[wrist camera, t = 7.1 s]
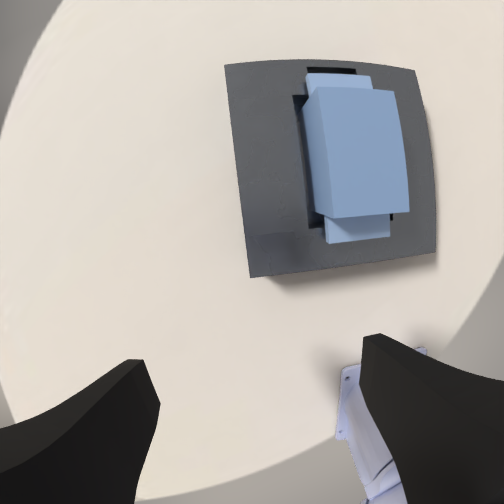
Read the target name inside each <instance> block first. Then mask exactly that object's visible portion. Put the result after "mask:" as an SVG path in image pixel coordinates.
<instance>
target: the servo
mask: <svg viewBox="0 0 504 504" xmlns="http://www.w3.org/2000/svg"><path fill="white" fill-rule="evenodd" d="M305 78H306V83H307V89H308V94H309V99H308V100H307V102H306V103H305V104H304V106H303V107H302V109H301V110H300V112H299V113H298V119H299V125H300V132H301V139H302V147H303V154H304V162H305V171H306V179H307V189H308V198H309V208H310V210H311V211H314V212H317V213H320V214H323V215H324V220H325V233H326V242H327V243H329V244H332V243H340V242H348V241H357V240H365V239H373V238H382V237H390V214H389V213H401V212H409V193H408V180H407V169H406V160H405V152H404V145H403V138H402V131H401V125H400V120H399V114H398V109H397V104H396V99H395V95H394V91H388V90H378V89H373V87H372V82H371V78H370V76H363V75H350V74H328V73H307V75H306V77H305Z"/></svg>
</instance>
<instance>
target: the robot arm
mask: <svg viewBox="0 0 504 504" xmlns="http://www.w3.org/2000/svg"><path fill="white" fill-rule="evenodd" d="M426 353H427V350H426V349H425V348H424V347H421V348H417V349H412V348H410V347H408V346H406V345H404V344H402V343H400V342H398V341H396V340H394V339H392V338H390V337H388V336H386V335H383V334H381V333H379V334H375V335H370V336H366V337H363V348H362V359H361V364H358V365H353V366H349V367H346V368H344V369H343V370H342V372H341V384H340V396H339V407H338V416H337V425H336V433H335V438H336V440H343V439H346V440H347V442H348V446H349V448H350V451H351V454H352V457H353V460H354V463H355V466H356V468H357V471H358V474H359V477H360V480H361V482H362V483H363V485H364V486H365V487H364V488H365V491H366V494H367V498H365V499H364V500H363V501H362V502H361V503H360V504H504V381H501V380H495V379H491V378H486V377H483V376H479V375H475V374H472V373H469V372H465V371H462V370H460V369H457V368H455V367H452V366H449V365H447V364H444V363H442V362H440V361H437V360H435V359H433V358H431V357H429V356H426ZM348 376H349V377H348ZM346 377H348V378H346ZM160 404H161V403H160V401H159V399H158V396H157V394H156V391H155V389H154V386H153V384H152V381H151V379H150V376H149V373H148V371H147V368H146V365H145V363H144V360H138V359H128V360H126V361H124V362H122V363H121V364H119V365H118V366H116V367H115V368H113V369H112V370H110V371H109V372H107V373H106V374H105V375H103V376H102V377H100V378H99V379H97V380H96V381H95V382H93V383H92V384H90V385H89V386H87V387H86V388H85V389H83V390H82V391H80V392H78V393H77V394H75V395H74V396H72V397H70V398H69V399H67V400H66V401H64V402H62V403H61V404H59V405H57V406H56V407H54V408H52V409H50V410H48V411H46V412H44V413H42V414H40V415H38V416H35V417H33V418H31V419H28V420H25V421H22V422H20V423H17V424H14V425H11V426H8V427H4V428H1V429H0V504H134V501H135V495H136V489H137V484H138V481H139V477H140V474H141V471H142V468H143V465H144V462H145V459H146V456H147V453H148V450H149V447H150V444H151V441H152V439H153V436H154V433H155V429H156V426H157V421H158V416H159V410H160Z"/></svg>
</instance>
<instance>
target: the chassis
mask: <svg viewBox="0 0 504 504" xmlns="http://www.w3.org/2000/svg"><path fill="white" fill-rule="evenodd" d="M224 68H225V76H226V85H227V93H228V102H229V110H230V119H231V127H232V135H233V144H234V152H235V160H236V168H237V177H238V185H239V193H240V201H241V209H242V217H243V225H244V233H245V241H246V249H247V257H248V265H249V273H250V278H255V277H264V276H272V275H280V274H288V273H296V272H304V271H312V270H319V269H327V268H334V267H341V266H348V265H355V264H362V263H369V262H376V261H383V260H389V259H396V258H402V257H409V256H415V255H421V254H427V253H433V252H436V202H435V184H434V172H433V162H432V154H431V146H430V139H429V133H428V127H427V121H426V116H425V111H424V106H423V101H422V97H421V93H420V89H419V85H418V81H417V77H416V73H415V70H410V69H405V68H399V67H393V66H387V65H380V64H372V63H363V62H353V61H339V60H312V59H296V60H269V61H255V62H245V63H235V64H227V65H224ZM307 73H328V74H350V75H363V76H370V78H371V82H372V87H373V89H378V90H388V91H394V95H395V99H396V104H397V109H398V114H399V120H400V125H401V131H402V138H403V145H404V152H405V160H406V169H407V180H408V193H409V212H401V213H389V214H390V237H382V238H373V239H365V240H357V241H348V242H340V243H332V244H329V243H327V242H326V233H325V220H324V215H323V214H320V213H317V212H314V211H311V210H310V208H309V198H308V189H307V179H306V171H305V162H304V154H303V147H302V139H301V132H300V125H299V119H298V113H299V112H300V110H301V109H302V107H303V106H304V104H305V103H306V102H307V100H308V99H309V94H308V89H307V83H306V78H305V77H306V75H307Z"/></svg>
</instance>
